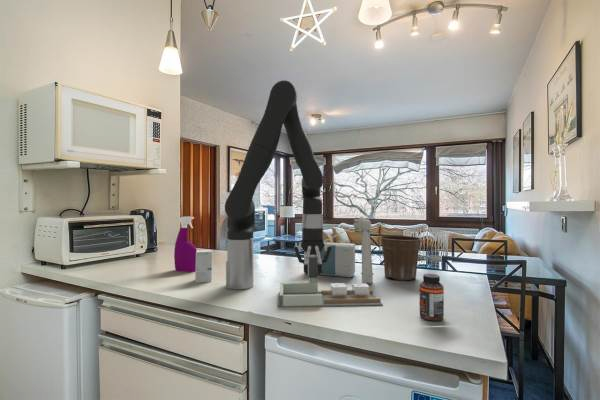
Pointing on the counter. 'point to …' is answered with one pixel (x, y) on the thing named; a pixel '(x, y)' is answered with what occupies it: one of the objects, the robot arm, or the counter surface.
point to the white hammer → (365, 248)
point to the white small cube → (360, 290)
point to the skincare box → (203, 266)
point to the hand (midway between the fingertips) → (312, 274)
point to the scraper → (312, 269)
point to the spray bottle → (184, 248)
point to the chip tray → (302, 298)
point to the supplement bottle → (431, 298)
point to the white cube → (338, 290)
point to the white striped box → (338, 259)
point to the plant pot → (400, 256)
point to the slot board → (340, 300)
